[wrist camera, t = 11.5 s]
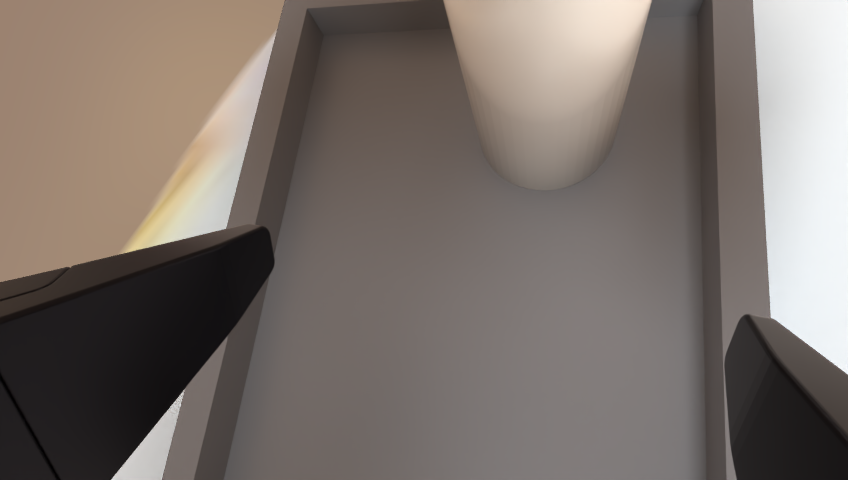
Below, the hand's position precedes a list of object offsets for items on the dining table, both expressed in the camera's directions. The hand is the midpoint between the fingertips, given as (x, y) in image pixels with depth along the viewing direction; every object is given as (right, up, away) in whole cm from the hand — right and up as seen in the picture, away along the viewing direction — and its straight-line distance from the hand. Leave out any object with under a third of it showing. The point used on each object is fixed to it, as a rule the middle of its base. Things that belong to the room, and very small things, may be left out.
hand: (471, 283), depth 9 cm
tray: (+1, -1, +9) cm, 9 cm away
